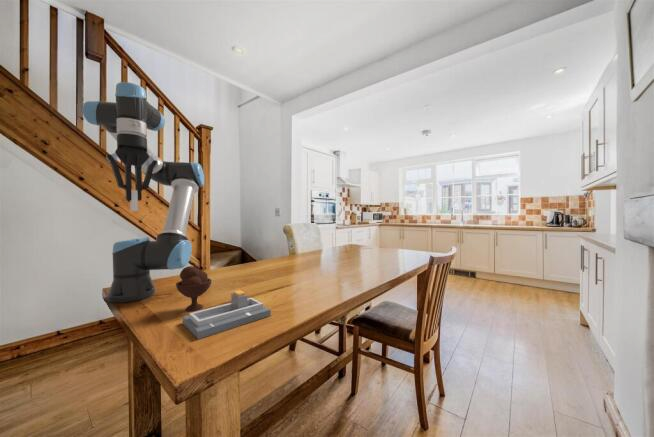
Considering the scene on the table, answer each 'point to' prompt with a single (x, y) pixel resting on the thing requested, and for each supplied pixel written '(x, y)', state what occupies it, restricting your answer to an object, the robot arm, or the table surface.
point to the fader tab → (238, 300)
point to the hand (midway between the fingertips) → (134, 211)
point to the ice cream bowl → (193, 285)
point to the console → (224, 318)
